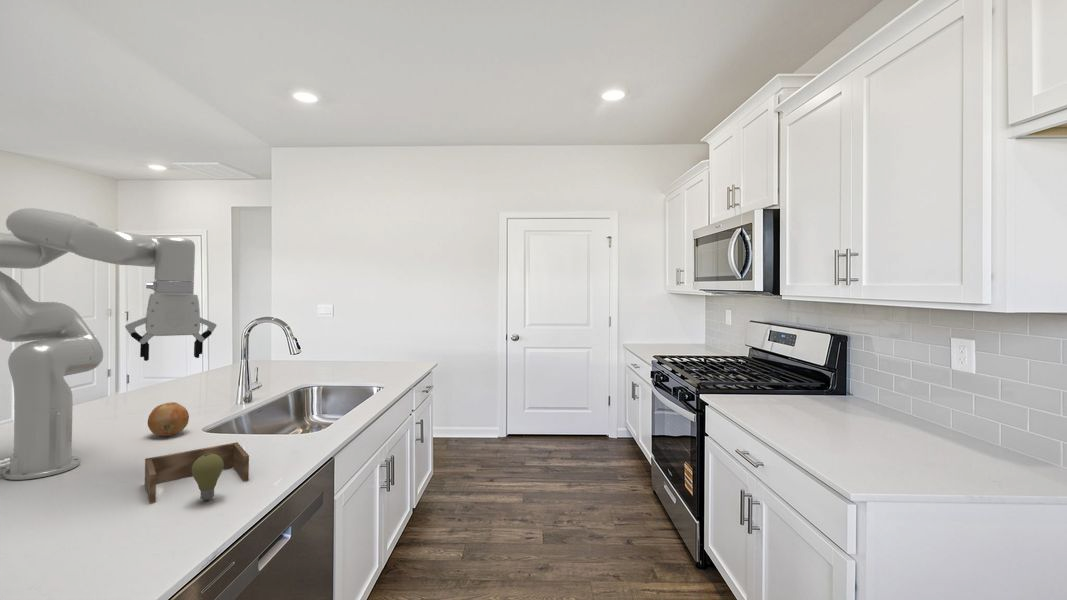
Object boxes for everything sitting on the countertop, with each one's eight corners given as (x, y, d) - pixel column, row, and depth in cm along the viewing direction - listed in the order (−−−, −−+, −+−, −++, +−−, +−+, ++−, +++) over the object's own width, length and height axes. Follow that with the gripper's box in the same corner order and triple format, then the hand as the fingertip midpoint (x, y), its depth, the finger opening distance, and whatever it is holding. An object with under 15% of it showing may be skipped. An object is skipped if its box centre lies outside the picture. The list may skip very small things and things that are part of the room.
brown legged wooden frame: (149, 503, 94) (150, 475, 94) (144, 484, 103) (145, 458, 103) (248, 480, 107) (249, 455, 107) (236, 465, 116) (237, 442, 116)
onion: (185, 428, 143) (186, 397, 143) (191, 436, 136) (192, 403, 136) (145, 434, 136) (146, 401, 136) (149, 443, 129) (150, 408, 129)
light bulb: (205, 508, 93) (206, 460, 93) (184, 504, 95) (185, 457, 94) (229, 496, 99) (230, 451, 99) (208, 493, 100) (209, 448, 100)
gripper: (127, 287, 100) (124, 363, 101) (220, 290, 112) (217, 358, 113) (125, 286, 106) (123, 359, 106) (214, 289, 118) (212, 354, 118)
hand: (172, 358), depth 109 cm, fingers open, 9 cm apart
